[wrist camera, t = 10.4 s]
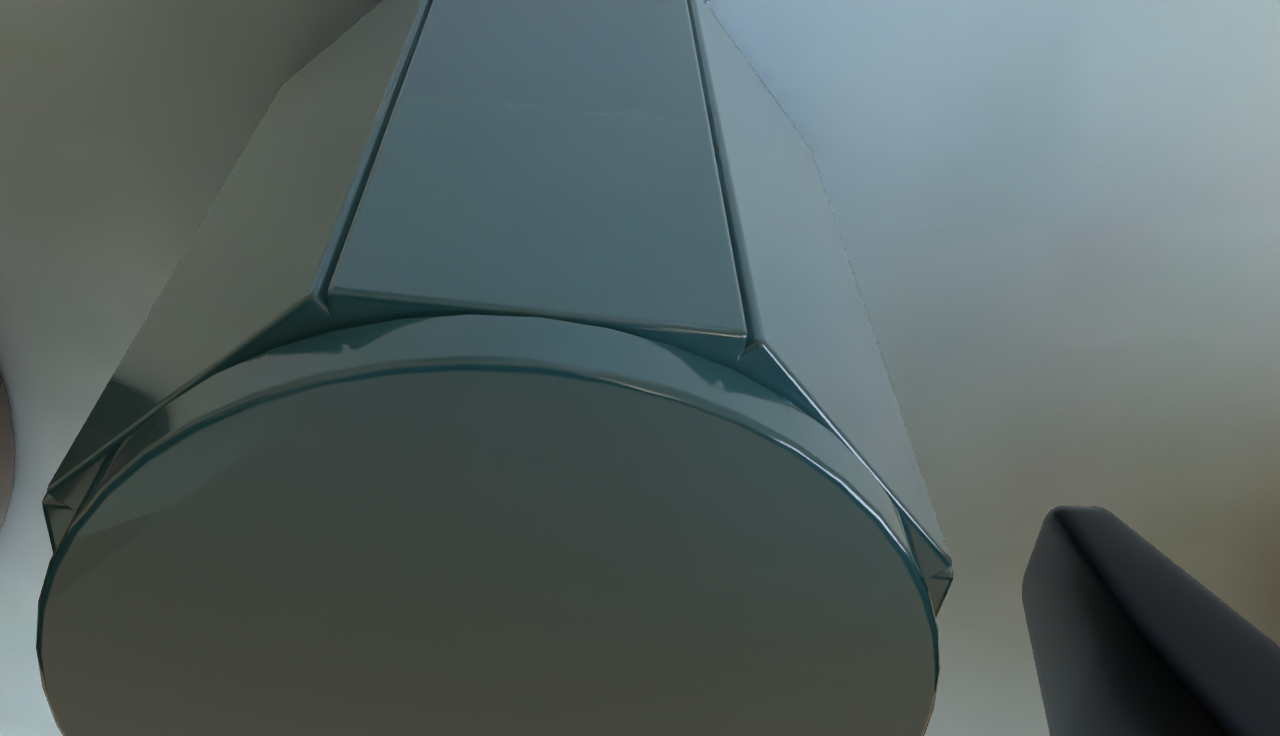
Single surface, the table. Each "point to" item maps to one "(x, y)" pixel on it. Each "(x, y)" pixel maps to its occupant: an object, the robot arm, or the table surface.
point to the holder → (5, 454)
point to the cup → (503, 415)
